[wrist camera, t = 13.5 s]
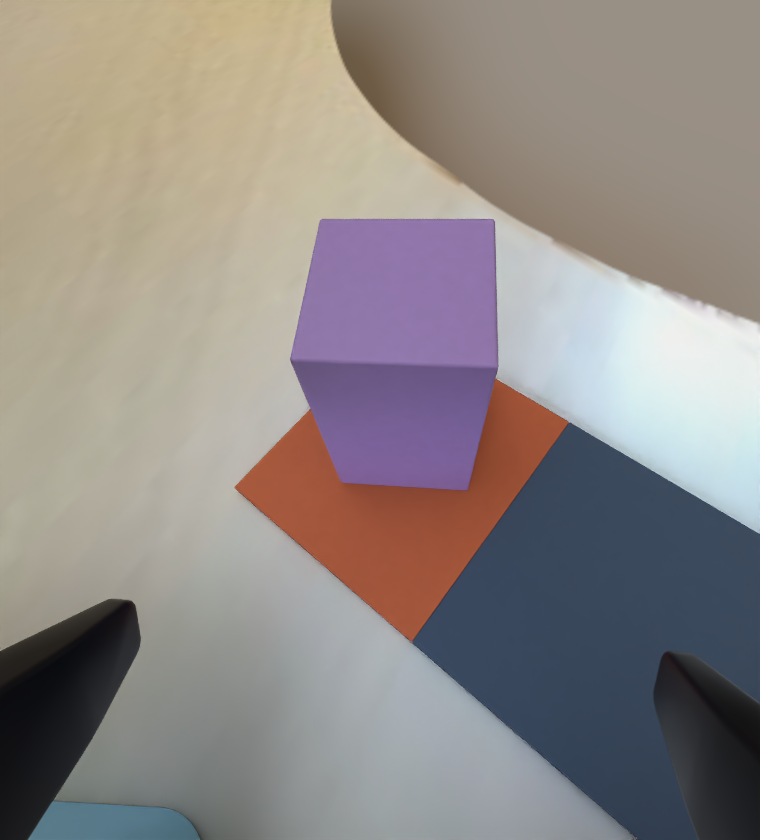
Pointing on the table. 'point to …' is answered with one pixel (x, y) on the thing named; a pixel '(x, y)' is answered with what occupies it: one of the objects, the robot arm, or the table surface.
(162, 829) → the data package
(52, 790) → the robot arm
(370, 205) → the table surface
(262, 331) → the table surface
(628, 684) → the mat
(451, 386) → the block
